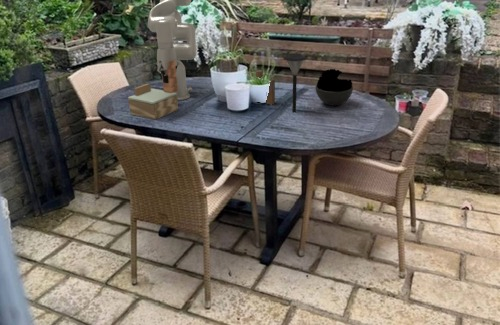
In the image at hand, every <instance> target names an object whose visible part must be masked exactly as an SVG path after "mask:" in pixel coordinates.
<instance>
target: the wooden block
mask: <svg viewBox="0 0 500 325" xmlns="http://www.w3.org/2000/svg"><path fill="white" fill-rule="evenodd" d="M262 76H263V70H261V69H257V70H256V71H255V78H256V77H259V78H261V77H262ZM269 83H270V86H269V93H268V96H267V95H266V96H267V100H266V103H267V104H273V105H275V104H274V103H276V101H275V100H276V94H275V93H276V79H275V78H273V79H272V80H270V81H269ZM267 104H266V105H267Z"/></svg>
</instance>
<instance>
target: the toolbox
mask: <svg viewBox="0 0 500 325" xmlns="http://www.w3.org/2000/svg"><path fill="white" fill-rule="evenodd" d="M128 107H129V113H130V115H133V116H137V117H142V118H146V119H150V120H154V121H155V120H158V119H160V118H162V117H165V116H168V115H169V114H172V113H174V112H175V111H178V110H179V104H178V100H177V95H175V96H173V97H170V98H168V99H165V100H163V101H160V102H158V103H155V104H149V103H144V102H140V101H135V100H130V99H128Z"/></svg>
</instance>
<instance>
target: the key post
mask: <svg viewBox="0 0 500 325" xmlns="http://www.w3.org/2000/svg"><path fill="white" fill-rule="evenodd" d="M161 70H162V69H161ZM164 72H165V70H164ZM167 75H168V82H169V83H163V82H162V88H163V91H164V92H166V93H174V92H176V91H178V87H177V78H176V68H175V60H173V61H170V62H168V69H167ZM161 78H162V80H163V76H162V75H161Z"/></svg>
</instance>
